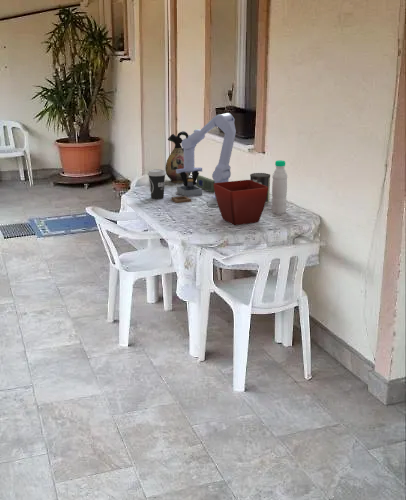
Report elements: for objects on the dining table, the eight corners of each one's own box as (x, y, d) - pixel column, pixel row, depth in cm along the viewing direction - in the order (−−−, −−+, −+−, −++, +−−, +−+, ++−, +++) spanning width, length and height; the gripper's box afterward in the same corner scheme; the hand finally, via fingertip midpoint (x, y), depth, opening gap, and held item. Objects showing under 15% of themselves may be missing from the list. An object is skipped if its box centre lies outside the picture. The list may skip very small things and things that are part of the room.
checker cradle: (192, 202, 325) (192, 199, 324) (176, 203, 321) (176, 200, 321) (186, 198, 333) (186, 195, 332) (170, 200, 329) (170, 197, 329)
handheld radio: (211, 193, 346) (191, 185, 367) (217, 192, 348) (196, 184, 369) (212, 181, 344) (191, 173, 365) (217, 180, 346) (196, 173, 367)
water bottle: (268, 211, 305) (270, 160, 298) (281, 210, 308) (283, 159, 300) (276, 214, 299) (277, 162, 291) (288, 213, 302) (290, 161, 294)
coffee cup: (155, 201, 327) (154, 173, 322) (144, 198, 334) (143, 170, 329) (170, 198, 333) (169, 170, 328) (159, 195, 340) (158, 168, 335)
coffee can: (262, 204, 318) (263, 177, 314) (245, 202, 324) (246, 175, 320) (273, 201, 326) (274, 174, 322) (256, 198, 332) (257, 172, 328)
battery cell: (194, 193, 341) (194, 177, 338) (187, 193, 340) (187, 177, 337) (192, 191, 345) (192, 175, 342) (184, 191, 344) (184, 176, 341)
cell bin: (202, 195, 339) (202, 189, 338) (184, 197, 336) (184, 190, 335) (194, 191, 350) (193, 185, 349) (177, 192, 346) (177, 186, 345)
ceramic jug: (167, 184, 367) (165, 133, 358) (164, 179, 382) (163, 130, 372) (195, 183, 369) (195, 132, 360) (192, 178, 384) (191, 129, 375)
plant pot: (230, 228, 277) (230, 191, 272) (212, 218, 293) (212, 182, 288) (268, 223, 284) (269, 187, 279) (249, 214, 301) (249, 179, 296)
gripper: (198, 158, 344) (199, 183, 348) (173, 160, 338) (174, 185, 342) (203, 160, 337) (203, 185, 341) (178, 162, 332) (178, 187, 336)
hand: (189, 185), depth 342 cm, fingers open, 4 cm apart
